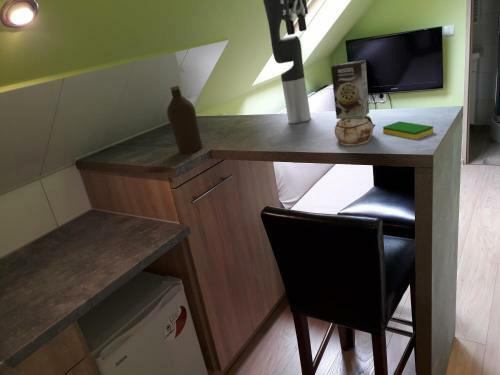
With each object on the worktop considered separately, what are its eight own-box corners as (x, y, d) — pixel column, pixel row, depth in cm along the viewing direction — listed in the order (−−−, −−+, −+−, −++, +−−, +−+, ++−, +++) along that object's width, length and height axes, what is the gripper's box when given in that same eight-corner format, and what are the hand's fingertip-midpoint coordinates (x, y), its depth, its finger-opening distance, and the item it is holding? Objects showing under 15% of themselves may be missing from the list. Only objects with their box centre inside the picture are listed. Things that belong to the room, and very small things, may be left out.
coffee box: (335, 119, 122) (329, 66, 116) (341, 114, 127) (336, 63, 121) (365, 117, 117) (360, 62, 111) (370, 112, 122) (365, 58, 117)
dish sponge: (415, 140, 114) (415, 132, 113) (382, 134, 126) (382, 126, 125) (434, 134, 116) (433, 126, 115) (399, 128, 128) (399, 120, 127)
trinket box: (350, 149, 117) (347, 124, 114) (324, 141, 130) (321, 118, 128) (387, 137, 121) (385, 112, 118) (357, 130, 134) (355, 107, 131)
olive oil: (205, 150, 150) (188, 84, 141) (178, 156, 149) (159, 90, 140) (203, 144, 160) (188, 82, 151) (177, 150, 159) (160, 88, 150)
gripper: (287, -25, 119) (295, 32, 125) (265, -24, 109) (275, 38, 115) (310, -31, 115) (317, 27, 121) (289, -31, 105) (298, 33, 111)
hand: (297, 32), depth 118 cm, fingers open, 8 cm apart
